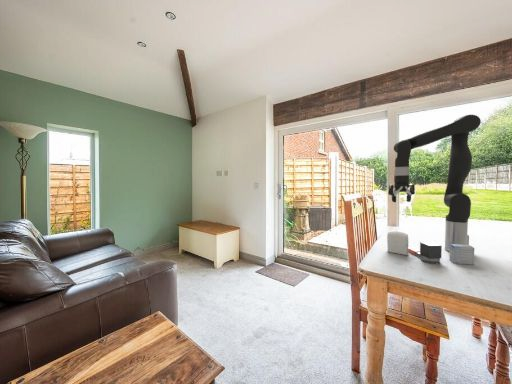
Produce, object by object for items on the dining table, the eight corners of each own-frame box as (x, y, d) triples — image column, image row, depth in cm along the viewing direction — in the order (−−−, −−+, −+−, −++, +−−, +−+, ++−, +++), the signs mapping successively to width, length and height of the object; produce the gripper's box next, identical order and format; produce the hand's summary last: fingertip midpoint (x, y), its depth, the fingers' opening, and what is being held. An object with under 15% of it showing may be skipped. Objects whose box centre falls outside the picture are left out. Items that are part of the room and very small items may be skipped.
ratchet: (416, 251, 124) (416, 241, 124) (444, 263, 106) (444, 251, 106) (403, 251, 124) (403, 241, 124) (428, 264, 106) (428, 252, 106)
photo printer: (386, 251, 125) (386, 230, 124) (388, 249, 128) (389, 229, 127) (406, 256, 117) (407, 233, 116) (409, 254, 120) (409, 232, 119)
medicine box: (468, 261, 108) (469, 244, 107) (474, 265, 103) (474, 247, 103) (449, 260, 110) (449, 243, 110) (453, 263, 106) (454, 246, 105)
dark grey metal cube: (431, 254, 113) (431, 241, 112) (441, 258, 107) (441, 245, 106) (420, 254, 113) (420, 242, 112) (429, 258, 107) (429, 245, 106)
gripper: (409, 174, 131) (408, 200, 132) (385, 175, 131) (385, 201, 132) (418, 174, 124) (417, 202, 125) (393, 175, 124) (393, 203, 125)
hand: (401, 201), depth 129 cm, fingers open, 8 cm apart
